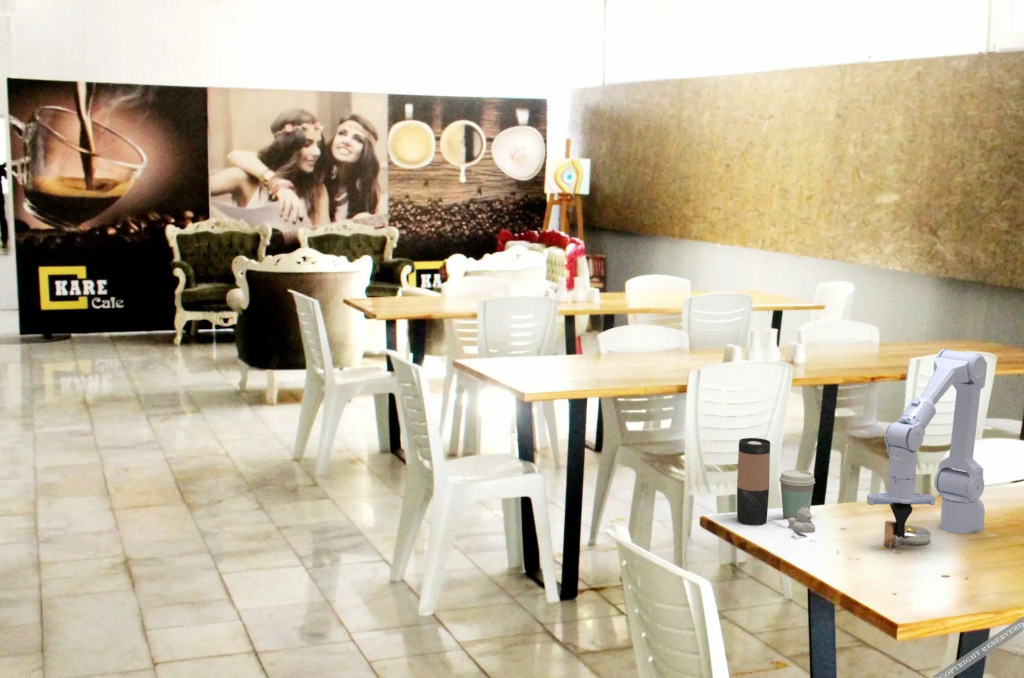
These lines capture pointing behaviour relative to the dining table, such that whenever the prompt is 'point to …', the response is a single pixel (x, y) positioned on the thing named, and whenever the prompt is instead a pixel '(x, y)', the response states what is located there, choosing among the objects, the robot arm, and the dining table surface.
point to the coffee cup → (796, 491)
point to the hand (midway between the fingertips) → (899, 535)
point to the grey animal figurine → (802, 522)
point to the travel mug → (753, 481)
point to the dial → (911, 536)
